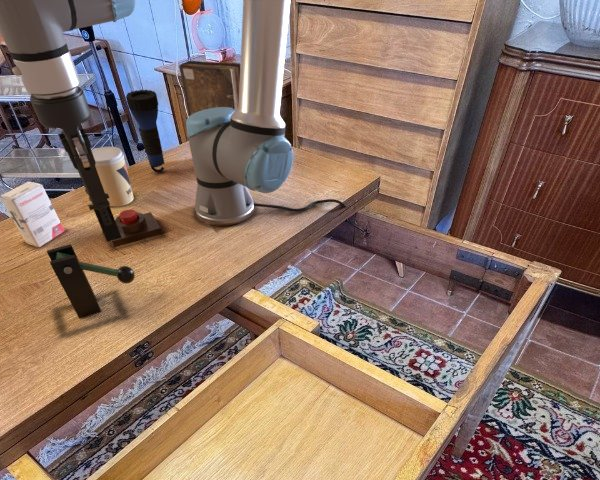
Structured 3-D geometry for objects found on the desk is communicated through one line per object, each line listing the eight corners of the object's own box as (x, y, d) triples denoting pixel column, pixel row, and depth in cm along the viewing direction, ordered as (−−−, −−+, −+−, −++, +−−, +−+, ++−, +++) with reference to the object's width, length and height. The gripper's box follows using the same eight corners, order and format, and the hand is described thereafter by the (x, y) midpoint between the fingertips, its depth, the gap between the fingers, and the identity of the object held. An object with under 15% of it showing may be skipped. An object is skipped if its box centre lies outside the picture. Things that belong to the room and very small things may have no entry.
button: (136, 214, 109) (133, 208, 107) (140, 222, 107) (138, 215, 105) (119, 219, 108) (117, 212, 106) (123, 226, 105) (121, 219, 104)
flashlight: (179, 172, 132) (161, 93, 116) (156, 180, 128) (135, 101, 113) (164, 164, 136) (145, 87, 120) (142, 172, 132) (119, 94, 117)
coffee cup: (137, 205, 119) (123, 158, 110) (102, 210, 118) (84, 163, 109) (136, 189, 125) (121, 143, 116) (102, 194, 124) (85, 148, 114)
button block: (153, 220, 114) (148, 204, 111) (163, 236, 109) (158, 220, 106) (106, 232, 111) (100, 217, 108) (114, 249, 106) (108, 234, 103)
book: (194, 161, 136) (175, 63, 117) (206, 153, 140) (190, 56, 121) (240, 171, 131) (228, 69, 112) (252, 161, 135) (242, 62, 116)
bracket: (114, 292, 95) (89, 233, 84) (124, 316, 90) (99, 256, 79) (56, 310, 91) (23, 250, 81) (64, 336, 86) (29, 276, 76)
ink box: (51, 226, 113) (28, 179, 104) (65, 231, 112) (43, 183, 102) (24, 243, 108) (-3, 195, 99) (38, 248, 107) (12, 200, 98)
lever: (129, 279, 91) (134, 264, 90) (134, 288, 90) (138, 273, 88) (53, 264, 82) (57, 247, 81) (56, 273, 80) (60, 256, 79)
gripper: (22, 83, 67) (86, 227, 85) (33, 109, 59) (100, 261, 78) (73, 74, 69) (124, 217, 87) (90, 98, 62) (142, 248, 80)
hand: (113, 237), depth 83 cm, fingers closed
